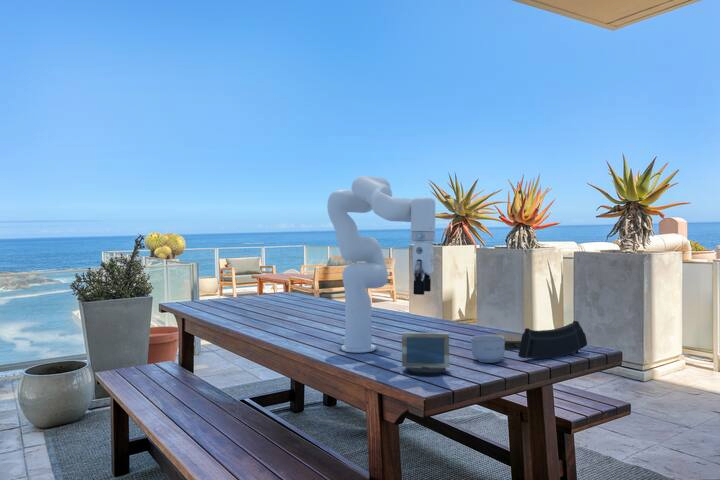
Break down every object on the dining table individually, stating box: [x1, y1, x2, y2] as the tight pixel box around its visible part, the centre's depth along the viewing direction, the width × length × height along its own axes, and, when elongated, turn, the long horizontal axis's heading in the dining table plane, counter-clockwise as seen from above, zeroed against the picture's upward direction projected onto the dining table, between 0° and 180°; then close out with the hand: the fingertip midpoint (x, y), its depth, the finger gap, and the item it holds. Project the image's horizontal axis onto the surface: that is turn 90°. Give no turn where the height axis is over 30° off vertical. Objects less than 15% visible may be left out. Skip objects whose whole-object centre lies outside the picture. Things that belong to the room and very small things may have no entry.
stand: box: [405, 367, 447, 377], centre depth 151 cm, size 12×12×1 cm
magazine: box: [517, 320, 588, 360], centre depth 170 cm, size 17×3×30 cm
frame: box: [401, 331, 450, 368], centre depth 153 cm, size 5×14×10 cm, turn 85°
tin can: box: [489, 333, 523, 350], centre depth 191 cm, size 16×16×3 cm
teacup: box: [470, 334, 506, 364], centre depth 165 cm, size 14×11×8 cm
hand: (422, 292), depth 155 cm, fingers open, 9 cm apart
